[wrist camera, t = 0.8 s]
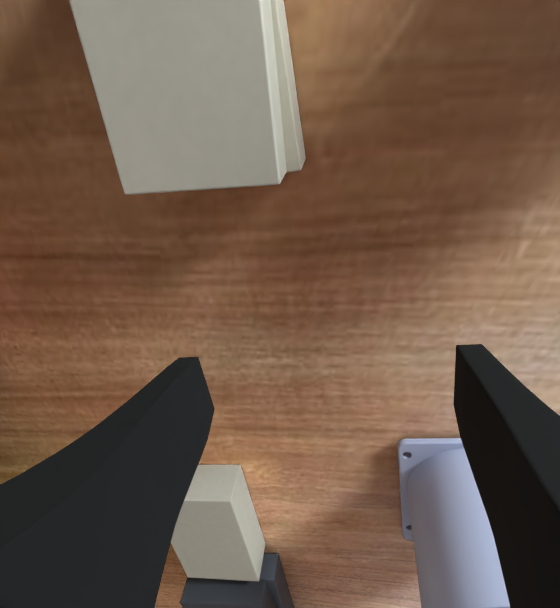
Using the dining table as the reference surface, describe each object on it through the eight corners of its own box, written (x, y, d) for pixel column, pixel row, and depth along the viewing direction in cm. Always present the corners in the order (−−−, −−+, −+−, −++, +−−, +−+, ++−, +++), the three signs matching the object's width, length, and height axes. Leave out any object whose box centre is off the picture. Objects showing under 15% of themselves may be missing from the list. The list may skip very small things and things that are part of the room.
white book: (265, 543, 33) (259, 581, 31) (198, 541, 34) (187, 577, 32) (240, 464, 29) (230, 501, 27) (165, 464, 30) (149, 500, 28)
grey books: (295, 609, 38) (289, 662, 35) (219, 604, 39) (207, 654, 36) (277, 551, 34) (270, 605, 30) (193, 548, 35) (177, 599, 32)
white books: (306, 159, 18) (297, 183, 15) (164, 180, 20) (127, 206, 16) (267, -126, 14) (242, -177, 11) (88, -73, 15) (17, -105, 12)
